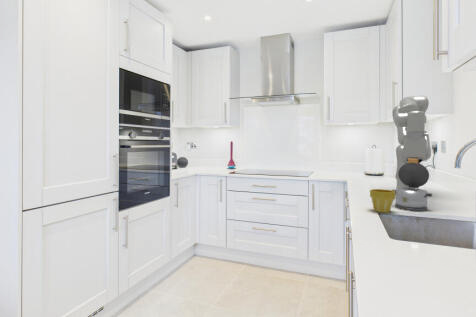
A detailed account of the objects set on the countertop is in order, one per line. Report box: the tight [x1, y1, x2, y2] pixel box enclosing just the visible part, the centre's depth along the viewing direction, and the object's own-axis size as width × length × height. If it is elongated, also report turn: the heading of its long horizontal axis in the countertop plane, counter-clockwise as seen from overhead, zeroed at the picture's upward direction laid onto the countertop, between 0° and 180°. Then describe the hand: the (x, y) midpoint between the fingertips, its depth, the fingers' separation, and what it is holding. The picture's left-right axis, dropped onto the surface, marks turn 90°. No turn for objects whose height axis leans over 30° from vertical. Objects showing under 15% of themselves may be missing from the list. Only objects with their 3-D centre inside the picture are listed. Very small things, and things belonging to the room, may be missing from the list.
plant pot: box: [369, 188, 396, 214], centre depth 126 cm, size 10×10×10 cm
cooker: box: [390, 187, 433, 212], centre depth 132 cm, size 14×17×9 cm
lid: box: [398, 159, 430, 189], centre depth 134 cm, size 16×13×1 cm
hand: (414, 171), depth 136 cm, fingers closed
